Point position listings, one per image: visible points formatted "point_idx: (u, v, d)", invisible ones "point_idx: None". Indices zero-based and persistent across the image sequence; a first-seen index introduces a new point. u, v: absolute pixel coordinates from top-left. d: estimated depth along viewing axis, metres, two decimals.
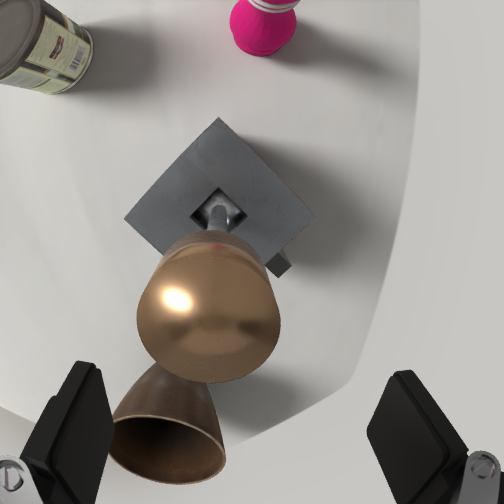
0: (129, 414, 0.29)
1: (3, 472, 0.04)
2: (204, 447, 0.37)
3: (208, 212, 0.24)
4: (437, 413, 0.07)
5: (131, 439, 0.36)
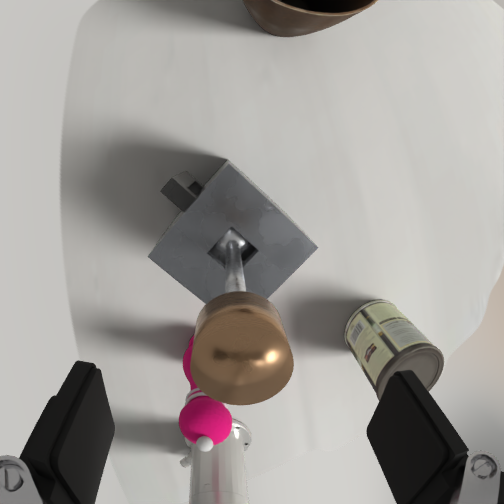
0: (345, 15, 0.21)
1: (3, 472, 0.04)
2: None
3: (242, 246, 0.28)
4: (437, 413, 0.07)
5: None
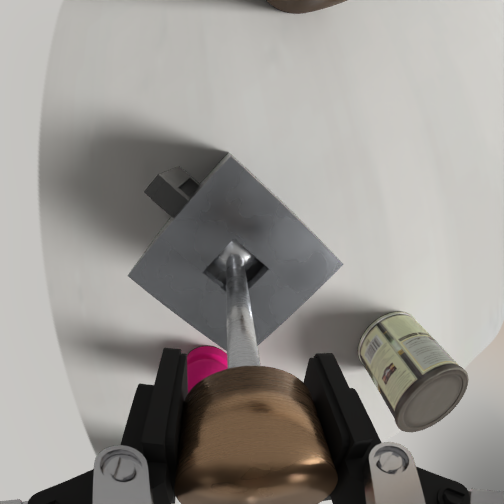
0: None
1: (114, 463, 0.05)
2: None
3: (247, 262, 0.22)
4: (346, 397, 0.08)
5: None
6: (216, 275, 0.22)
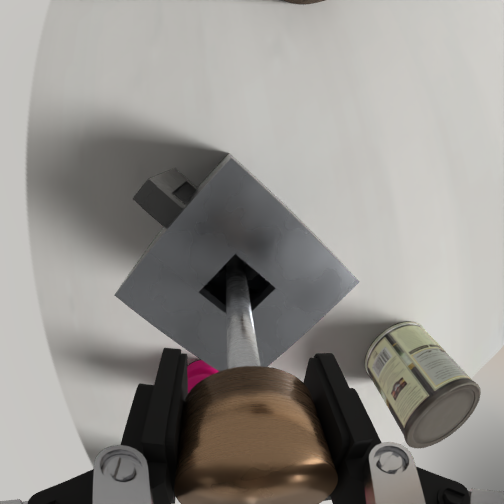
0: None
1: (114, 463, 0.05)
2: None
3: None
4: (346, 397, 0.08)
5: None
6: (216, 275, 0.22)
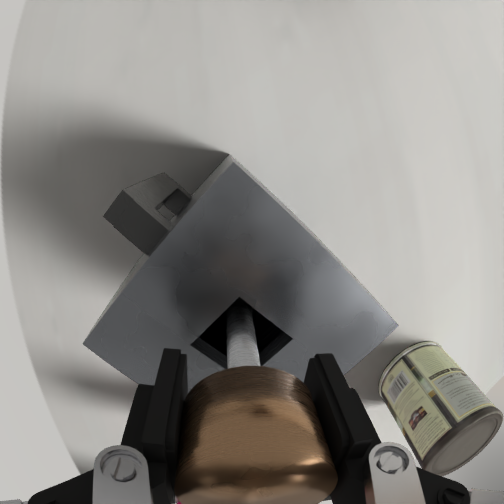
0: None
1: (114, 463, 0.05)
2: None
3: None
4: (346, 397, 0.08)
5: None
6: None
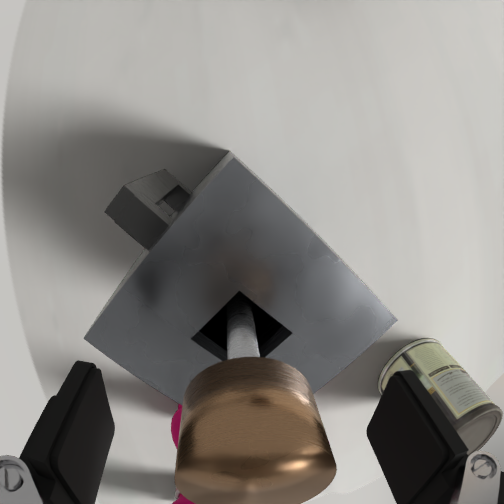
0: None
1: (3, 472, 0.04)
2: None
3: None
4: (437, 413, 0.07)
5: None
6: None
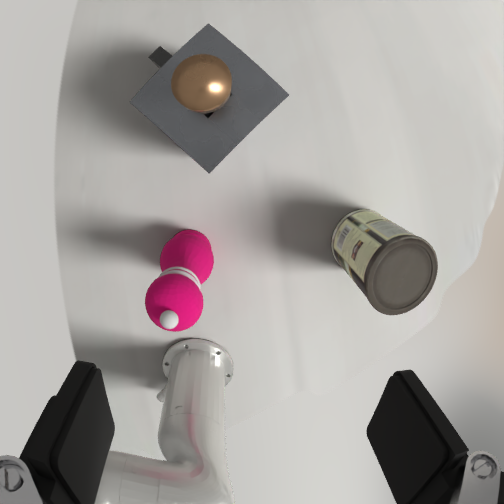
0: None
1: (3, 472, 0.04)
2: None
3: None
4: (437, 413, 0.07)
5: None
6: None
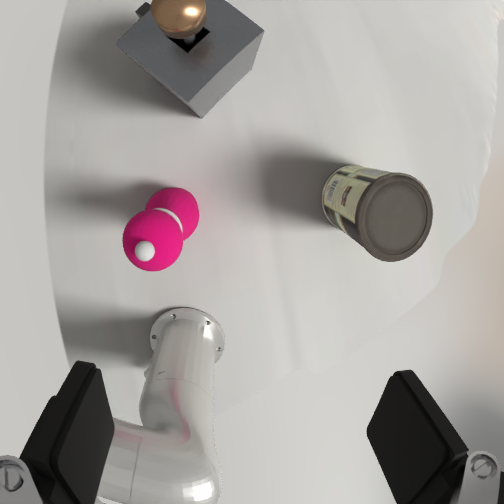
0: None
1: (3, 472, 0.04)
2: None
3: None
4: (437, 413, 0.07)
5: None
6: None
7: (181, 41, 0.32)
